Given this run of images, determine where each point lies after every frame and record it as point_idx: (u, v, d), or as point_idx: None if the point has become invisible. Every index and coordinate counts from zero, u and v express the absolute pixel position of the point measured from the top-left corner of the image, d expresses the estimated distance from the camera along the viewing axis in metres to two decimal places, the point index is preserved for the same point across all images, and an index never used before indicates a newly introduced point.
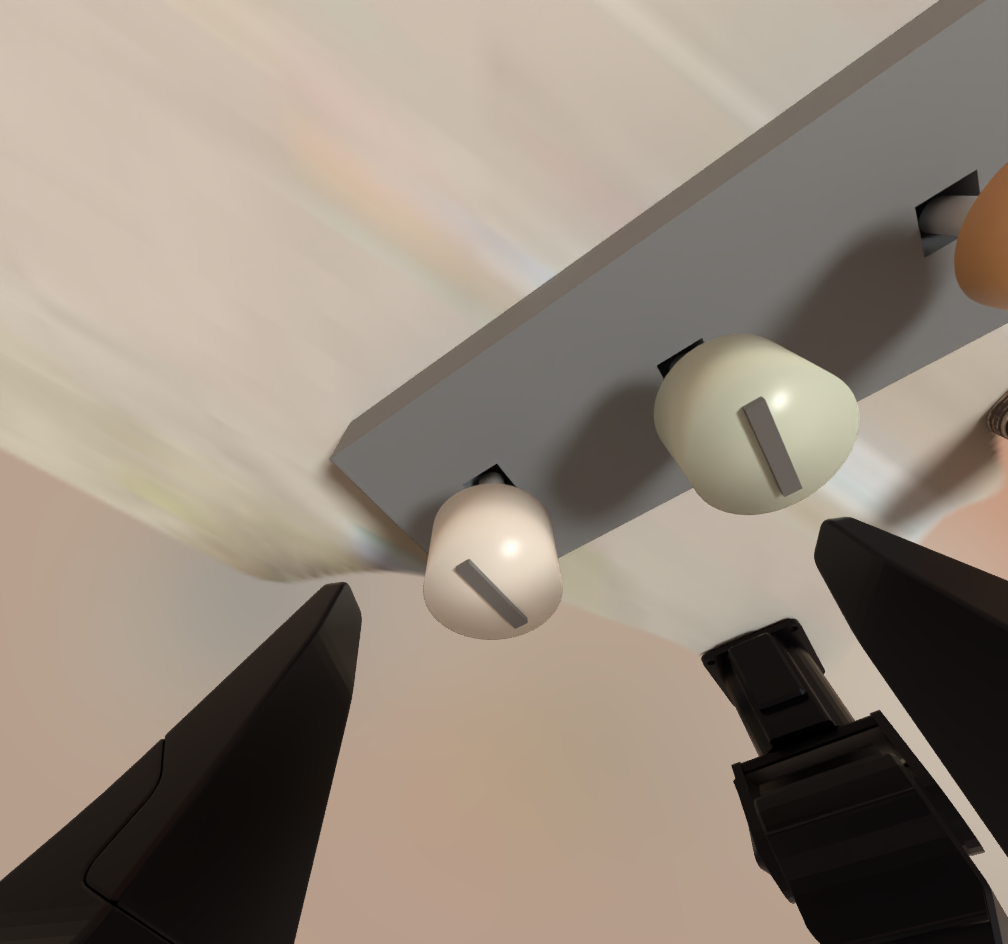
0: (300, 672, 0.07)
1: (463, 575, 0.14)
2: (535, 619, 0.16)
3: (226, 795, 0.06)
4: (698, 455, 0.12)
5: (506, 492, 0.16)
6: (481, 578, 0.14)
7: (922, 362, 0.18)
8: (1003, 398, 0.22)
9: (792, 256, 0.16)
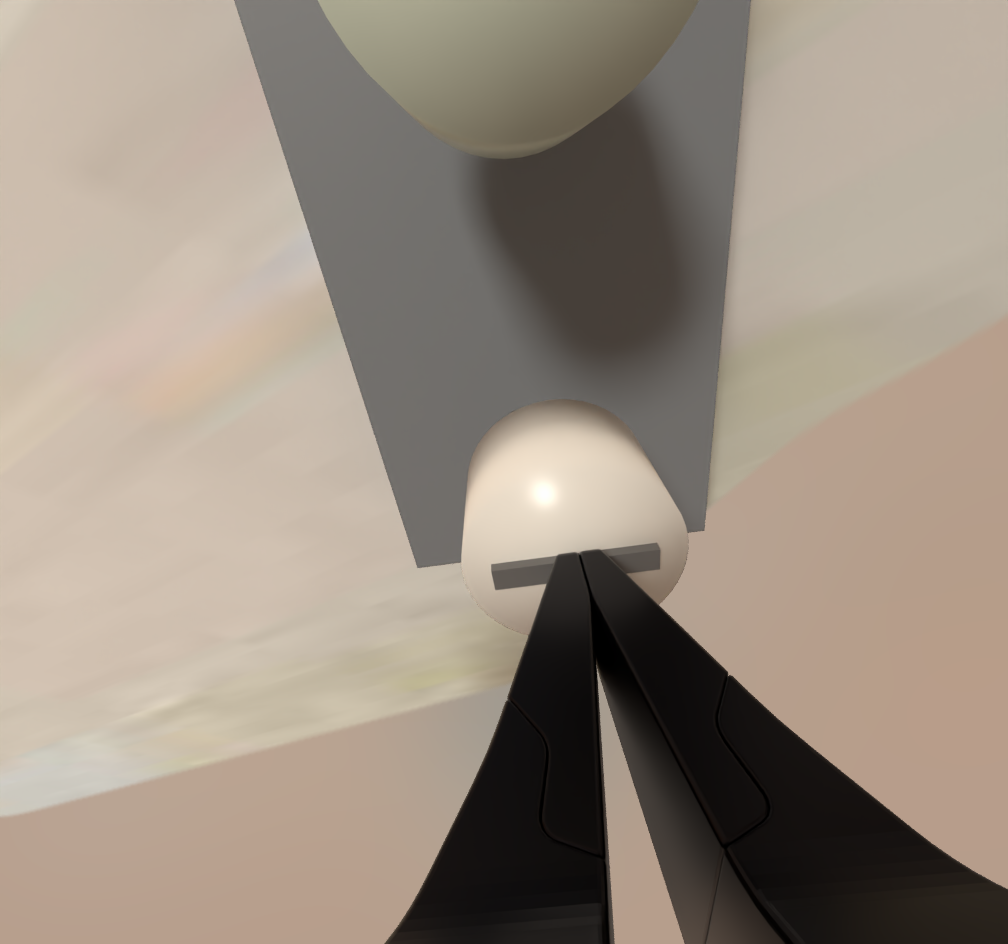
0: None
1: (509, 585, 0.09)
2: (669, 533, 0.09)
3: (601, 756, 0.05)
4: (450, 99, 0.05)
5: (487, 440, 0.11)
6: (529, 568, 0.09)
7: None
8: None
9: None
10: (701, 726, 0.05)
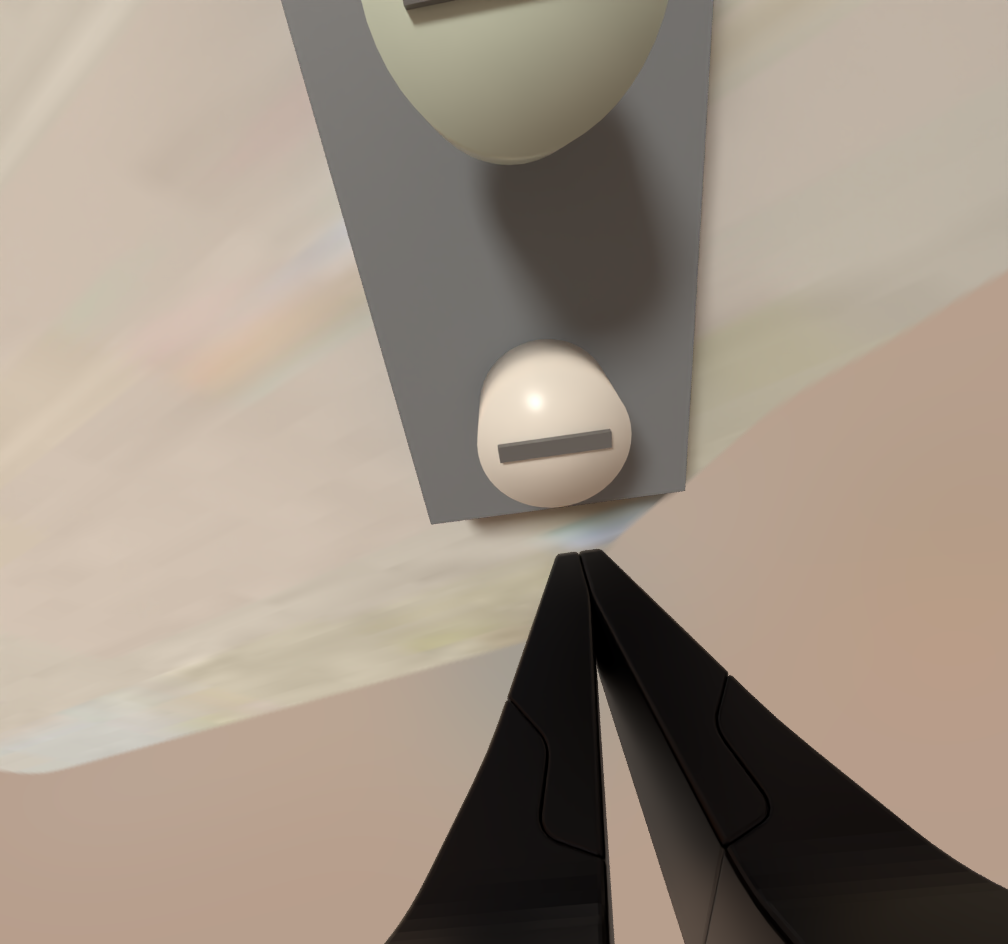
0: None
1: (510, 459, 0.13)
2: (617, 421, 0.13)
3: (601, 756, 0.05)
4: (472, 124, 0.07)
5: (494, 368, 0.15)
6: (523, 446, 0.13)
7: None
8: None
9: None
10: (701, 726, 0.05)
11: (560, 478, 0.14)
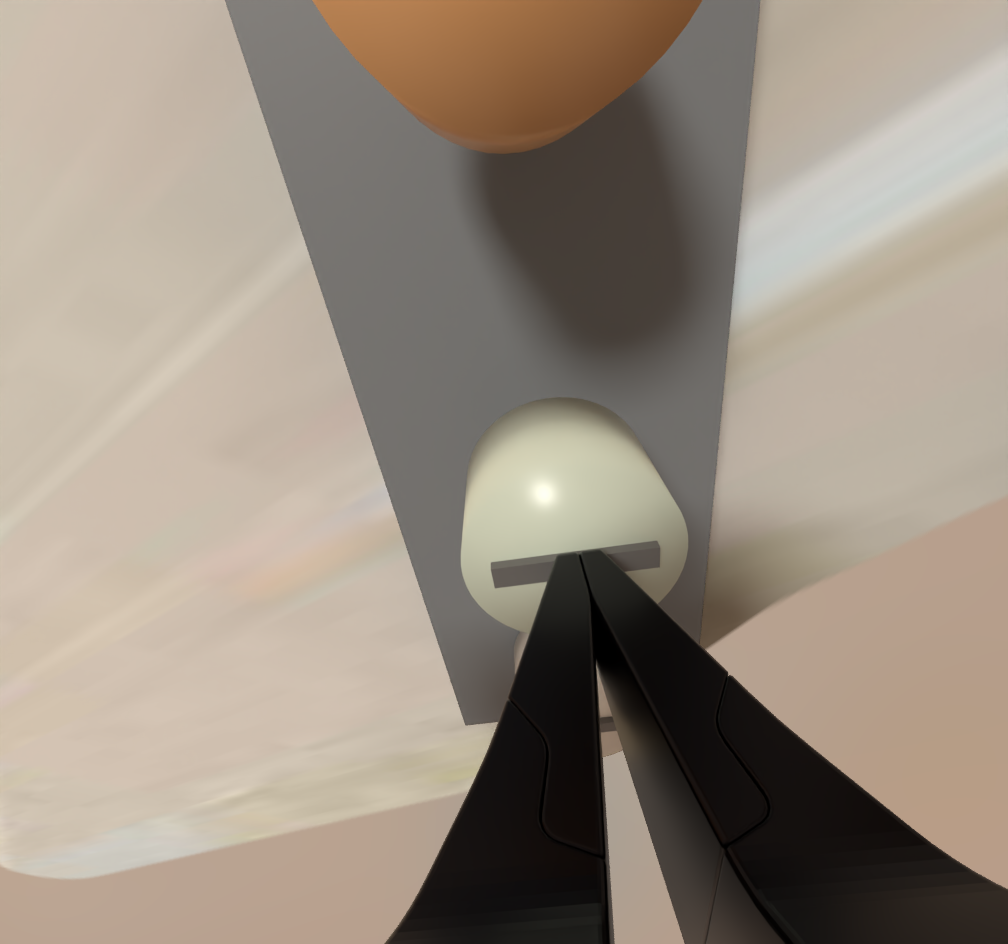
0: None
1: None
2: None
3: (601, 755, 0.05)
4: None
5: None
6: None
7: (741, 86, 0.10)
8: None
9: (458, 289, 0.12)
10: (701, 726, 0.05)
11: None
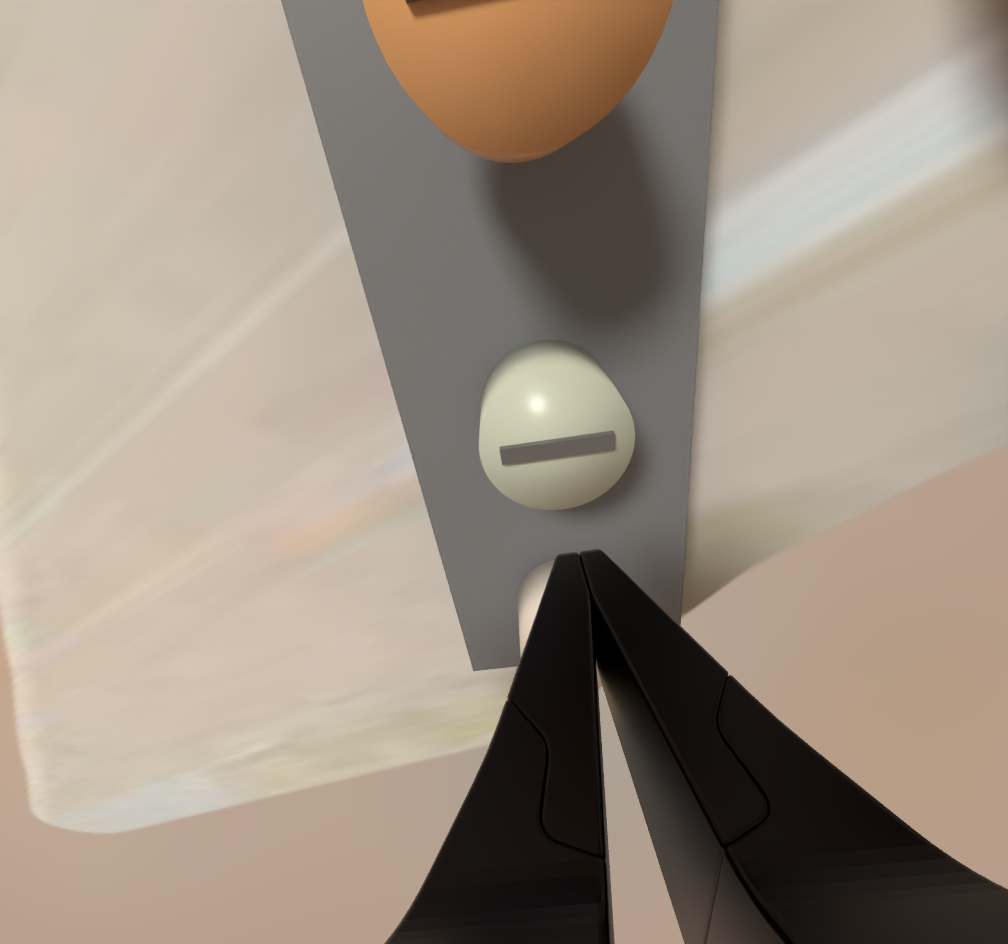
0: (593, 638, 0.07)
1: None
2: None
3: (601, 756, 0.05)
4: (532, 499, 0.14)
5: (530, 580, 0.19)
6: None
7: (703, 106, 0.12)
8: None
9: (473, 273, 0.14)
10: (701, 726, 0.05)
11: None
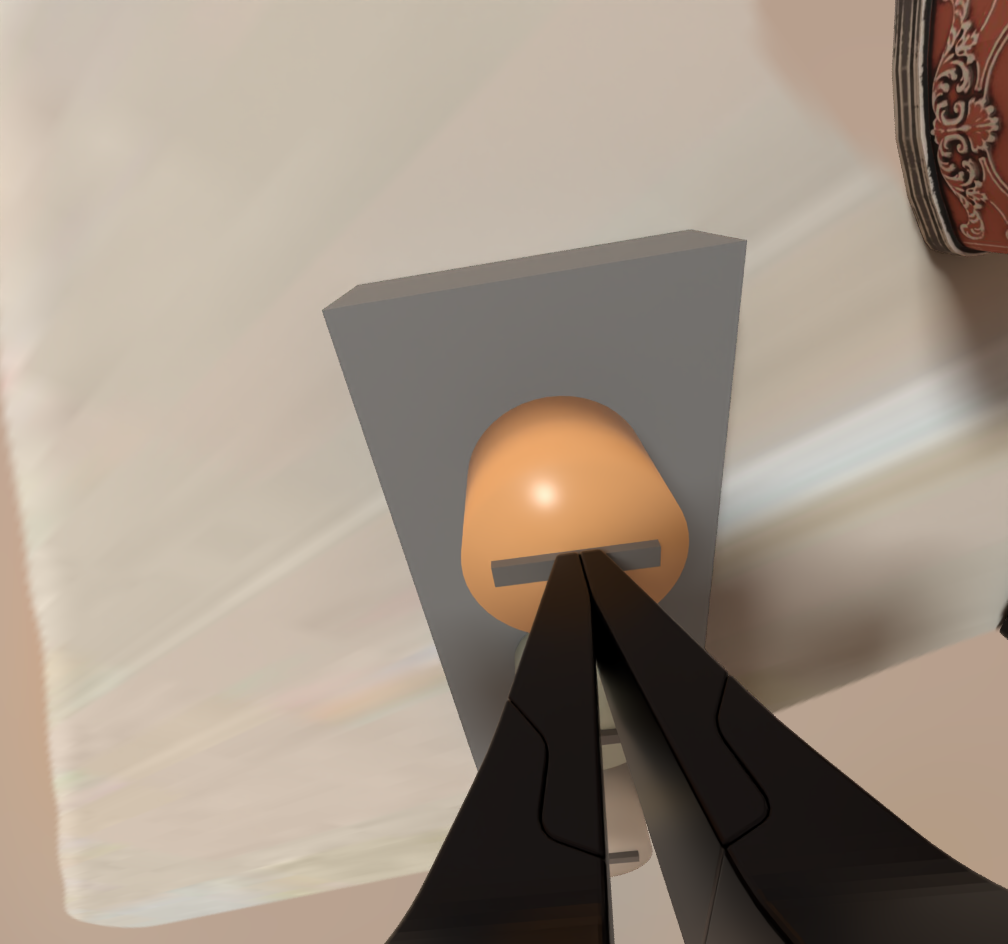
0: (593, 637, 0.07)
1: None
2: (643, 847, 0.19)
3: (601, 756, 0.05)
4: None
5: None
6: None
7: (716, 469, 0.14)
8: (924, 232, 0.14)
9: None
10: (701, 726, 0.05)
11: None
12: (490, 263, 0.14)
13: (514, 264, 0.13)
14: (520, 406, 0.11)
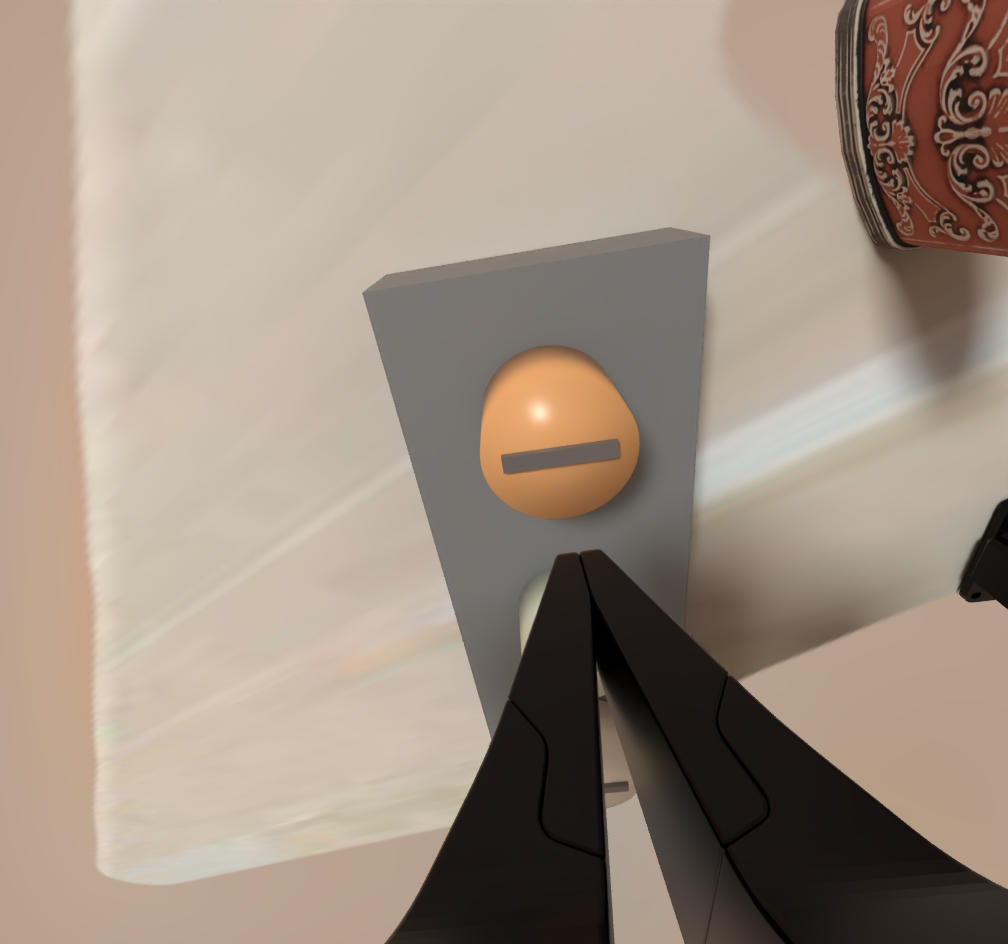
0: None
1: None
2: None
3: (601, 756, 0.05)
4: None
5: None
6: None
7: (691, 431, 0.16)
8: (869, 229, 0.16)
9: (516, 524, 0.18)
10: (701, 726, 0.05)
11: None
12: (499, 256, 0.16)
13: (520, 256, 0.15)
14: (522, 352, 0.14)
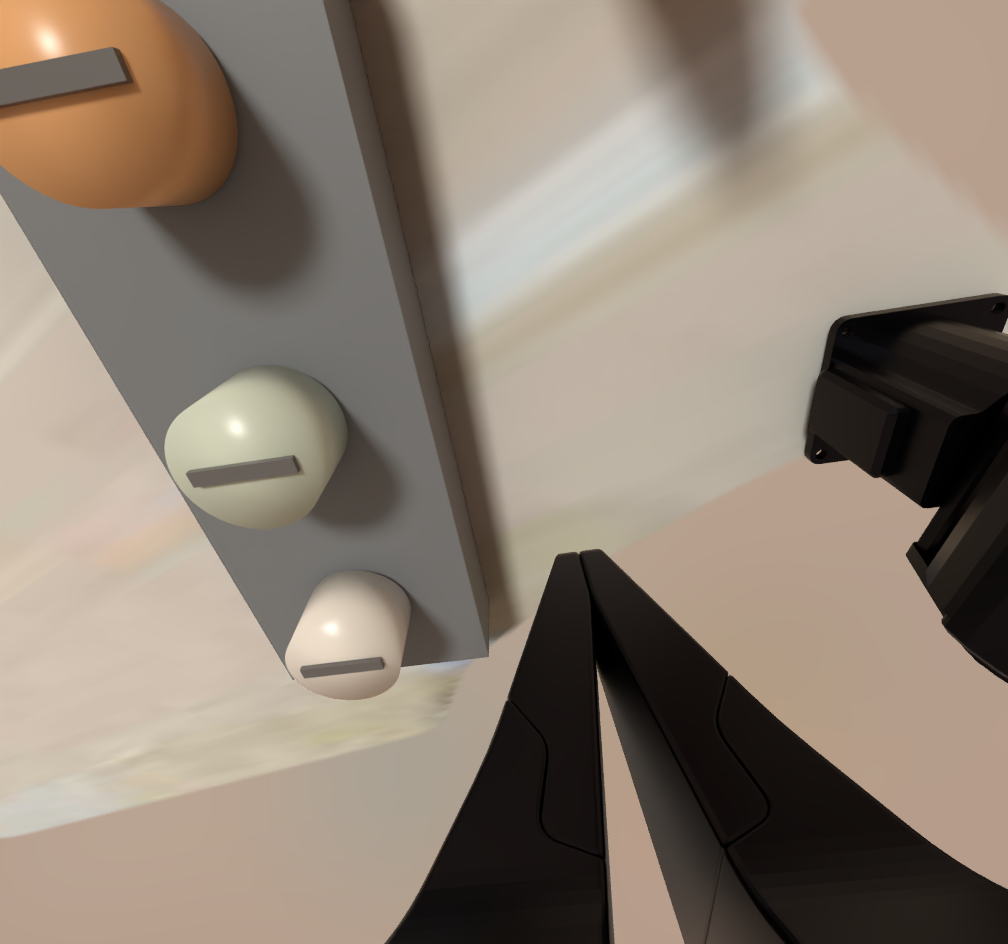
0: None
1: (310, 676, 0.18)
2: (385, 652, 0.18)
3: (601, 756, 0.05)
4: (240, 519, 0.15)
5: (313, 592, 0.20)
6: (318, 669, 0.18)
7: (352, 148, 0.13)
8: None
9: (176, 302, 0.14)
10: (701, 726, 0.05)
11: (354, 683, 0.19)
12: None
13: None
14: None
